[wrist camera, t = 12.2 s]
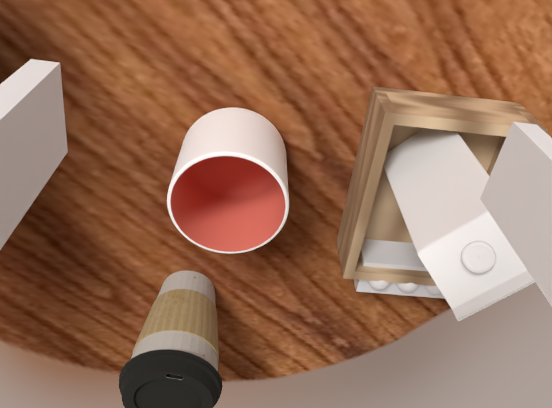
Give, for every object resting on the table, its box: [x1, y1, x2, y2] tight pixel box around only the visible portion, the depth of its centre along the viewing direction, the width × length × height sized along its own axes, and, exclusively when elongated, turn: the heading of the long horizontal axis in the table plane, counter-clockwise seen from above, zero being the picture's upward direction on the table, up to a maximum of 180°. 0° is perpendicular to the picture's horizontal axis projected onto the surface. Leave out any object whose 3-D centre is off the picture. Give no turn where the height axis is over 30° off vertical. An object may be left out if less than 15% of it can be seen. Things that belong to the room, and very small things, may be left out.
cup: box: [167, 107, 289, 254], centre depth 46 cm, size 10×10×10 cm
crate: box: [337, 86, 548, 286], centre depth 50 cm, size 14×18×6 cm
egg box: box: [354, 239, 445, 299], centre depth 54 cm, size 10×4×5 cm, turn 83°
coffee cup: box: [119, 271, 222, 408], centre depth 54 cm, size 10×10×15 cm
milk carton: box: [383, 128, 535, 321], centre depth 42 cm, size 7×7×19 cm
